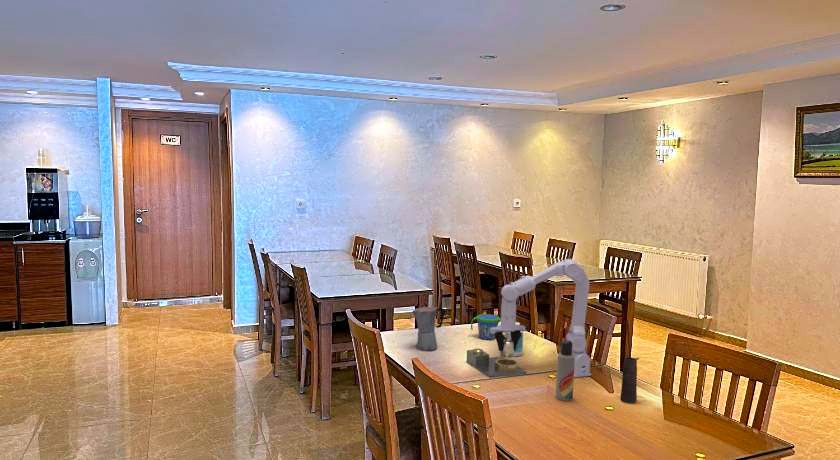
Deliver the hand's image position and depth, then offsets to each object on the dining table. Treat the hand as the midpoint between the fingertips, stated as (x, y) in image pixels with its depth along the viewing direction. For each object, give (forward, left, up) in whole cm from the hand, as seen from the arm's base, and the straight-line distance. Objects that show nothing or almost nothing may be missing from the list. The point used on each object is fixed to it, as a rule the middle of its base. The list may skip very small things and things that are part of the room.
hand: (506, 350), depth 231 cm
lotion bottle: (-33, -4, -8) cm, 34 cm away
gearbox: (+3, +3, -8) cm, 9 cm away
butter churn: (-42, -25, -8) cm, 49 cm away
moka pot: (+35, +19, -8) cm, 41 cm away
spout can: (0, 0, -2) cm, 2 cm away
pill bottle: (+17, -13, -8) cm, 23 cm away
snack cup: (+43, -14, -8) cm, 46 cm away
